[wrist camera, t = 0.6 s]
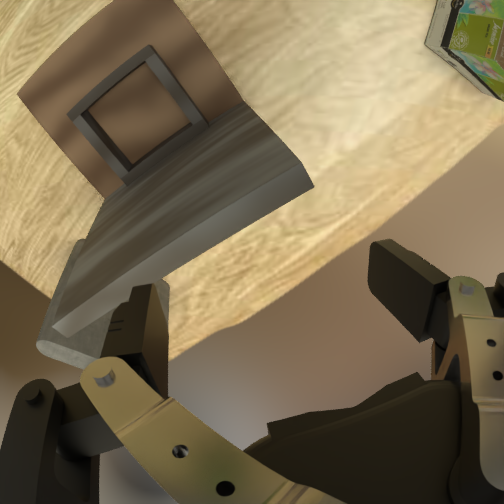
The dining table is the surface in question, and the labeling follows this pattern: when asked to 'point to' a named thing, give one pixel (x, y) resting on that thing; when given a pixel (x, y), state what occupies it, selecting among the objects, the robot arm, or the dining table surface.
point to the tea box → (471, 41)
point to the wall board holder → (153, 150)
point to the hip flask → (90, 337)
